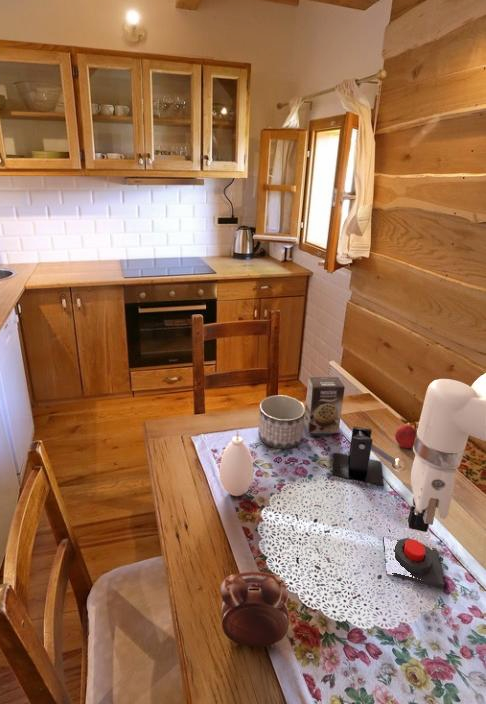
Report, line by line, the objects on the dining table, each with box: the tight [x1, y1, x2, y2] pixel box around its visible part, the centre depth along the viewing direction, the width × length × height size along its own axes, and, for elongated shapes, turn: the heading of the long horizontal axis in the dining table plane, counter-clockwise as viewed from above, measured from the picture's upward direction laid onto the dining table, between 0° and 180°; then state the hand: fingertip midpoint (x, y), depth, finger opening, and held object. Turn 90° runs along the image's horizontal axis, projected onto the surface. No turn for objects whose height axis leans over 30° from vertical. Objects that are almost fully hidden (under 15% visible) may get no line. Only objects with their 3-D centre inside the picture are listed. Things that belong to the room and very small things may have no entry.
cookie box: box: [304, 376, 346, 434], centre depth 119 cm, size 9×6×16 cm
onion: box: [394, 422, 417, 449], centre depth 112 cm, size 6×6×8 cm
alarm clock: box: [220, 571, 289, 648], centre depth 65 cm, size 11×5×15 cm, turn 88°
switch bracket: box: [331, 426, 384, 487], centre depth 103 cm, size 12×9×12 cm
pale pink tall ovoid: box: [219, 429, 255, 497], centre depth 95 cm, size 8×8×18 cm
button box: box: [382, 537, 445, 590], centre depth 80 cm, size 10×8×3 cm
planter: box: [257, 394, 305, 450], centre depth 116 cm, size 13×13×10 cm
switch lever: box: [355, 431, 407, 473], centre depth 101 cm, size 14×3×3 cm, turn 73°
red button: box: [404, 539, 425, 562], centre depth 79 cm, size 4×4×2 cm
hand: (416, 526), depth 77 cm, fingers closed
